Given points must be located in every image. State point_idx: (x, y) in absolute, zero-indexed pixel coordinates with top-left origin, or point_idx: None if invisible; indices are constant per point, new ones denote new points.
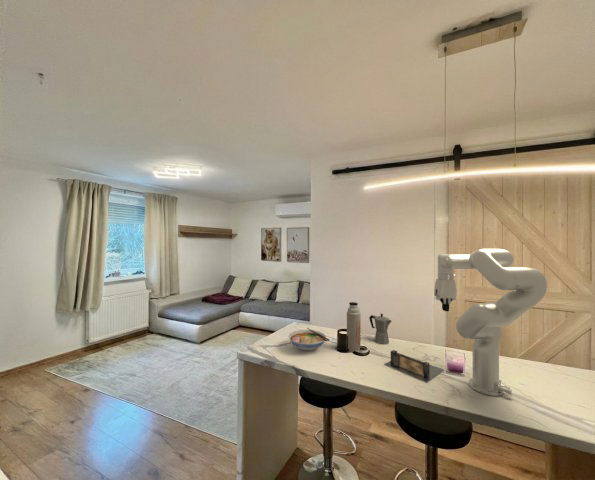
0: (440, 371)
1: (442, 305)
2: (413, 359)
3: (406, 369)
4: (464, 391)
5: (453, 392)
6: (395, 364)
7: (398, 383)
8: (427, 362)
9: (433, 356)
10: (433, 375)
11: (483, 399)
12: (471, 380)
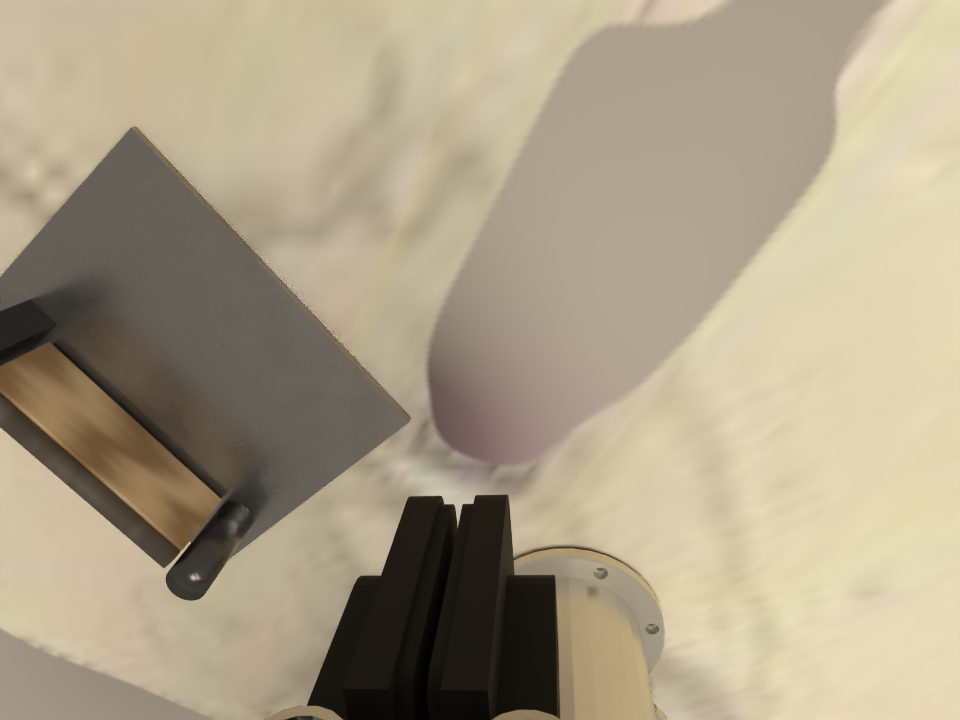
0: (366, 449)
1: (331, 677)
2: (100, 512)
3: None
4: None
5: None
6: None
7: (46, 561)
8: (196, 572)
9: (447, 141)
10: (290, 500)
11: None
12: (520, 573)
